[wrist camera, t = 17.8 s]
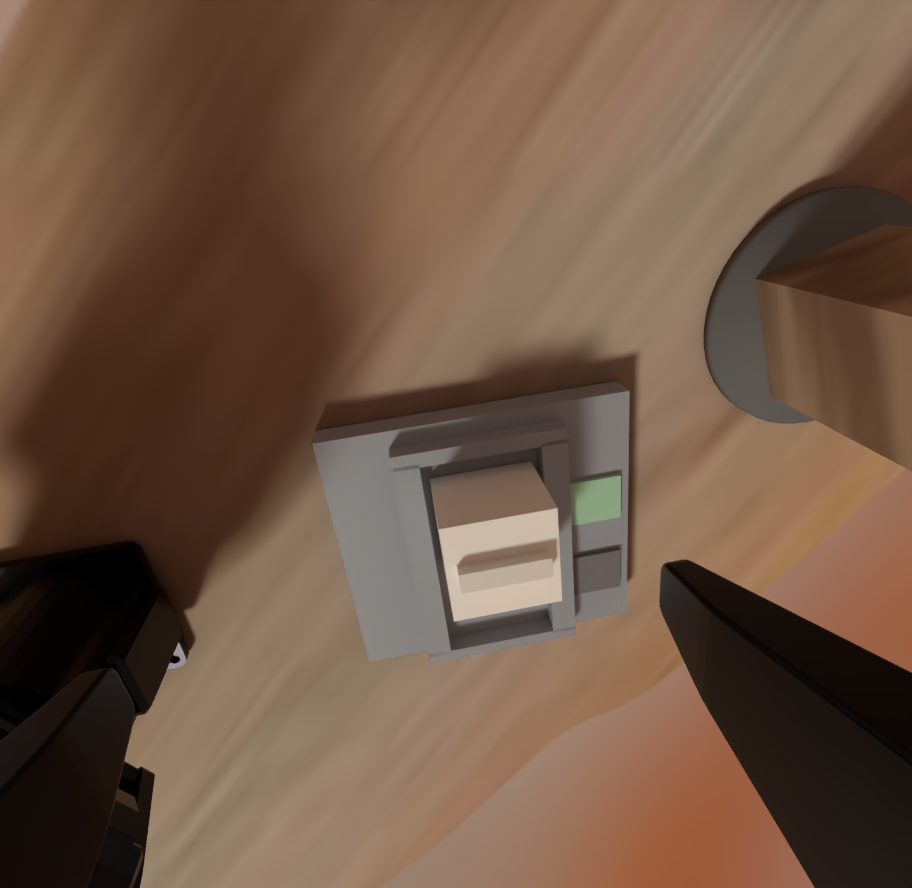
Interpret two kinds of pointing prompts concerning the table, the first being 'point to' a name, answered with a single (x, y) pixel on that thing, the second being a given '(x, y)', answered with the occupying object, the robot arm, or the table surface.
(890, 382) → the handle block
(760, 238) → the coaster
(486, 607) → the switch tab
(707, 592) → the robot arm
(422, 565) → the switch board
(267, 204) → the table surface
